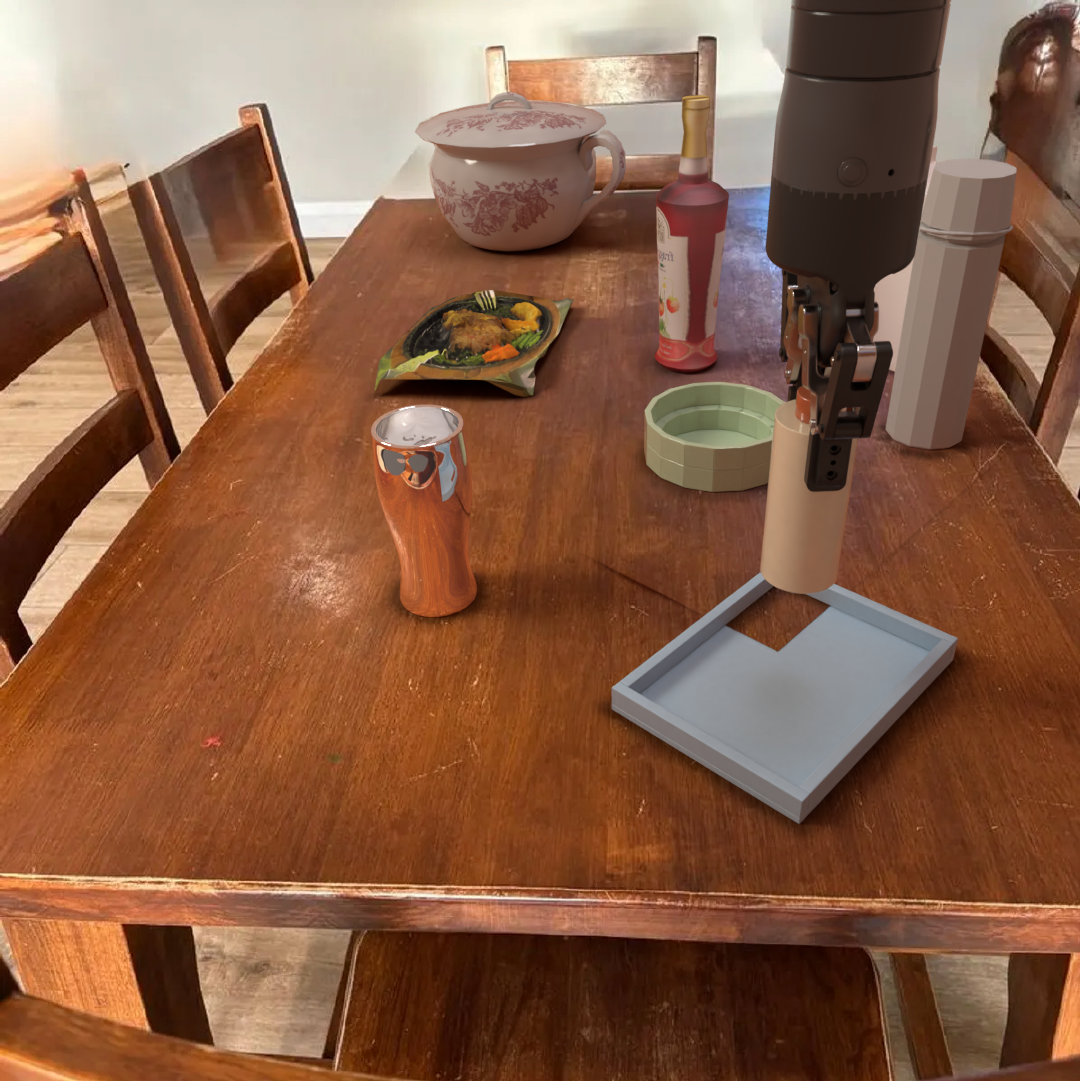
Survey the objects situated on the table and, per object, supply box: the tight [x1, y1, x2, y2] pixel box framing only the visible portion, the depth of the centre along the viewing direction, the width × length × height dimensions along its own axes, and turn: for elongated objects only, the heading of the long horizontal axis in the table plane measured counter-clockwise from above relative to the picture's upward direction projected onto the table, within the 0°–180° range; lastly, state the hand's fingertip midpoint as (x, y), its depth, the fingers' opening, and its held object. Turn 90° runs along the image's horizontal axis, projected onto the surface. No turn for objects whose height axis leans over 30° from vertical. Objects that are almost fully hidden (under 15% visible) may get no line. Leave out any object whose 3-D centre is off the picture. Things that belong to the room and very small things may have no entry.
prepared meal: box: [373, 289, 575, 398], centre depth 119 cm, size 28×4×18 cm
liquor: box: [654, 94, 730, 374], centre depth 105 cm, size 7×7×28 cm
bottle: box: [759, 386, 859, 595], centre depth 61 cm, size 5×5×12 cm
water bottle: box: [885, 158, 1018, 451], centre depth 91 cm, size 9×8×25 cm
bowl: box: [643, 381, 786, 493], centre depth 94 cm, size 13×13×5 cm
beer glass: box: [370, 404, 478, 618], centre depth 76 cm, size 7×7×15 cm
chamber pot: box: [414, 91, 627, 253], centre depth 148 cm, size 28×28×21 cm
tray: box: [611, 571, 959, 825], centre depth 69 cm, size 20×15×2 cm
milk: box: [873, 145, 938, 373], centre depth 106 cm, size 6×6×22 cm
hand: (812, 463), depth 60 cm, fingers closed on bottle, 4 cm apart
